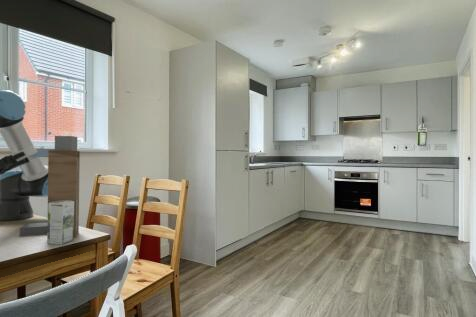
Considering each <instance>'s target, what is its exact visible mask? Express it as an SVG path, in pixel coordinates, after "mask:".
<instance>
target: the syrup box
mask: <svg viewBox="0 0 476 317" xmlns="http://www.w3.org/2000/svg"><path fill="white" fill-rule="evenodd" d="M47 223H48V236H47V237H46V238H47V242H46V243H47V244H48V245H64V244H67V243H69V242H72V241H74V238H73V229H74V201H70V200H60V201H55V202H50V203H49V204H48V203H47Z"/></svg>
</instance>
